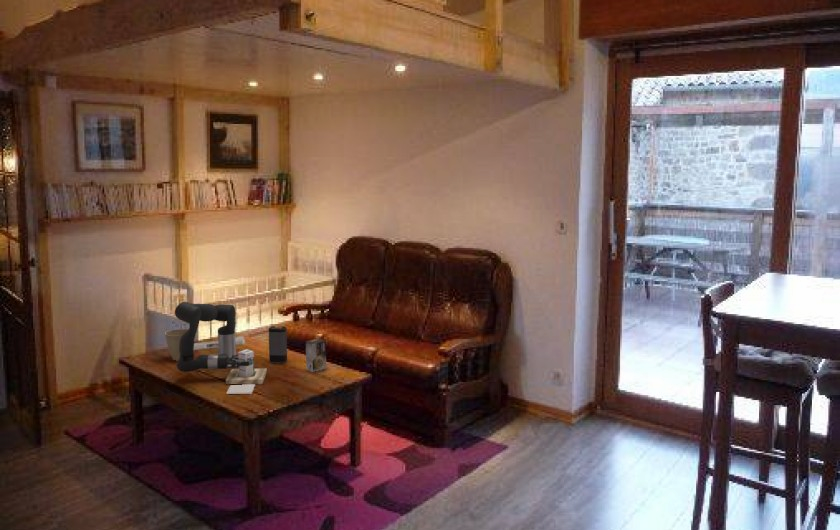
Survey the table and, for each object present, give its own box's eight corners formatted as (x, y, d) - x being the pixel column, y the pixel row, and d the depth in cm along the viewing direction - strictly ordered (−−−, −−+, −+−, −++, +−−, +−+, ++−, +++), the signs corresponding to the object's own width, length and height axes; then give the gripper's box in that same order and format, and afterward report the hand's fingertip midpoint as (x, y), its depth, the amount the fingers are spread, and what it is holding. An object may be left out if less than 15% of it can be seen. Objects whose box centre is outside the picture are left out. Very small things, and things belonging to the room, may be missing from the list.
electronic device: (287, 360, 377) (287, 326, 374) (284, 363, 371) (283, 329, 368) (272, 360, 378) (271, 325, 375) (268, 363, 372) (267, 328, 369)
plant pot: (161, 362, 372) (159, 335, 369) (174, 355, 386) (172, 328, 384) (186, 363, 370) (185, 336, 367) (198, 356, 385) (197, 329, 382)
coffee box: (319, 366, 367) (319, 338, 365) (326, 369, 363) (326, 340, 360) (305, 369, 361) (305, 341, 359) (312, 372, 357) (312, 343, 354)
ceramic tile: (226, 395, 322) (226, 393, 322) (230, 386, 334) (230, 384, 333) (251, 394, 323) (251, 392, 323) (255, 386, 335) (255, 384, 335)
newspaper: (187, 352, 393) (187, 346, 393) (184, 347, 404) (183, 341, 403) (247, 345, 410) (247, 339, 409) (242, 340, 420) (242, 335, 420)
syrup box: (246, 380, 342) (246, 353, 340) (238, 378, 345) (238, 351, 343) (254, 377, 347) (254, 350, 344) (246, 375, 350) (246, 348, 348)
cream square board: (225, 384, 336) (225, 380, 336) (232, 373, 354) (232, 369, 354) (262, 384, 338) (261, 379, 338) (266, 372, 356) (266, 368, 355)
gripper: (214, 358, 336) (247, 358, 337) (220, 350, 350) (252, 350, 351) (215, 373, 337) (248, 372, 338) (221, 364, 351) (252, 363, 352)
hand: (250, 361), depth 345 cm, fingers closed on syrup box, 7 cm apart
